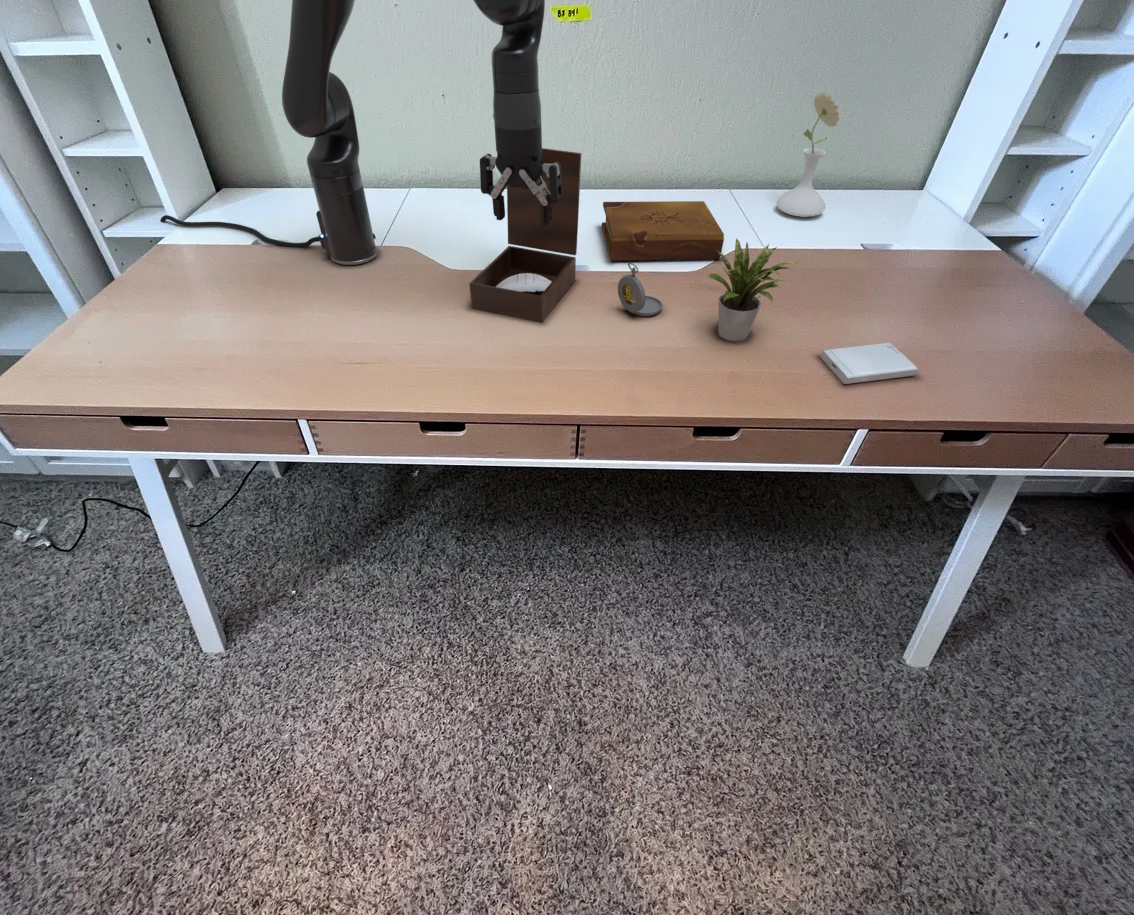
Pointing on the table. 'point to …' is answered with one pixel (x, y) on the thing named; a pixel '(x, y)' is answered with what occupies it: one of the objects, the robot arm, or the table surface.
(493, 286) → the box
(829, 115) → the flower in vase
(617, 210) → the diary
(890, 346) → the hard drive
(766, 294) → the house plant
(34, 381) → the table surface
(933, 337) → the table surface
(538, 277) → the pincushion
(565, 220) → the lid
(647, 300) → the pocket watch
